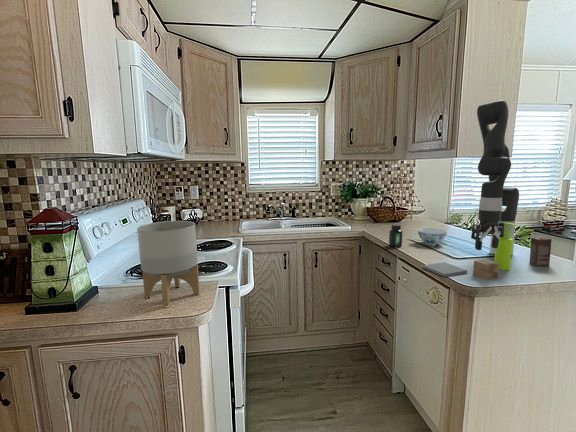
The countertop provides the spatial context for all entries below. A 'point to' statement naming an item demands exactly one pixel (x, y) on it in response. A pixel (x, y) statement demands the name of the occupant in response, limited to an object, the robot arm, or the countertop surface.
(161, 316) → the countertop surface
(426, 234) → the chinaware
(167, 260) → the planter
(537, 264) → the box
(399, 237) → the supplement bottle
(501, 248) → the soap dispenser
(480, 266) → the walnut cube
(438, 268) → the slate tile
